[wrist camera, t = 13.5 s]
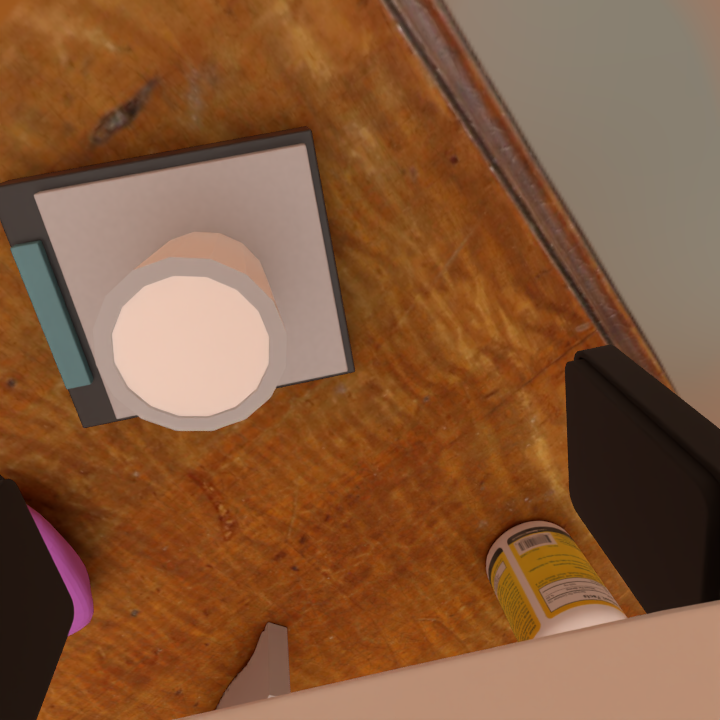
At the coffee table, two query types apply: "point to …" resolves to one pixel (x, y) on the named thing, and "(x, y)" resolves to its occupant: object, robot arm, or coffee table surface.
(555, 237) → the coffee table surface
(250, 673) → the serrated bird-shaped piece
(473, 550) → the coffee table surface
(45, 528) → the blob
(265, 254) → the scale
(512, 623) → the pill bottle
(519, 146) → the coffee table surface
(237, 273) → the shot glass
